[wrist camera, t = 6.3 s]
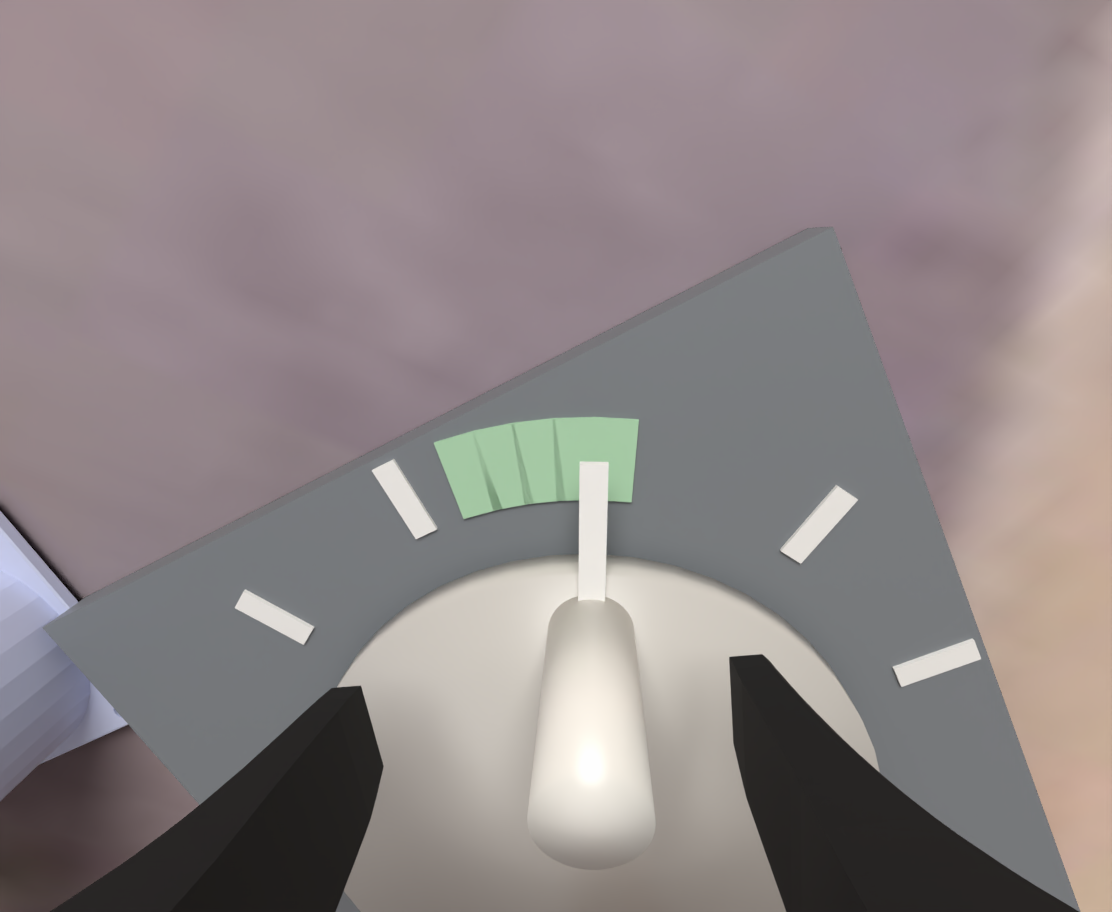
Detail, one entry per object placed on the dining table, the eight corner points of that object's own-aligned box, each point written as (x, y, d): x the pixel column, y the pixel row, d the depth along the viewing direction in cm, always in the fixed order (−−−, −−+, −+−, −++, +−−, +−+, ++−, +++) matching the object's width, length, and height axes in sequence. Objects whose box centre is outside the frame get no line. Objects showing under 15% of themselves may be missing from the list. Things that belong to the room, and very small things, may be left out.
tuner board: (461, 1040, 24) (452, 1097, 23) (85, 597, 18) (35, 632, 17) (1050, 878, 20) (1091, 934, 18) (808, 228, 14) (836, 226, 12)
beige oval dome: (824, 987, 19) (920, 1294, 14) (353, 959, 20) (261, 1240, 14) (937, 451, 14) (1185, 602, 8) (268, 442, 14) (58, 574, 9)
